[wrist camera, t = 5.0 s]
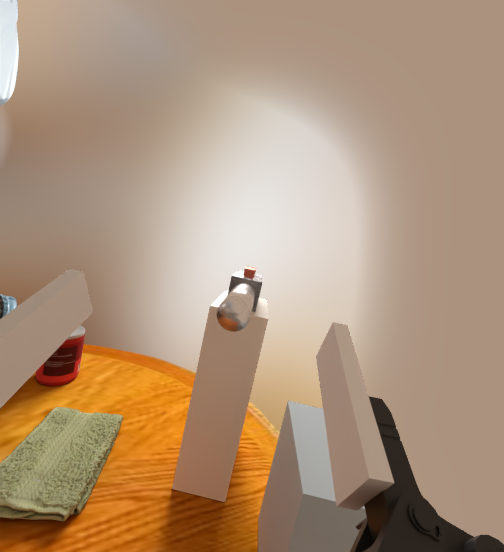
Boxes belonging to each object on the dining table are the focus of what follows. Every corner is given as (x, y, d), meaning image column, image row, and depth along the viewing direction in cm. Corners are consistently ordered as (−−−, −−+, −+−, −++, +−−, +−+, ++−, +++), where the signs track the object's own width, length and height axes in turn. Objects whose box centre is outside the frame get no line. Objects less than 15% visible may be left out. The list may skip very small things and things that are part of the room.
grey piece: (206, 331, 24) (218, 274, 23) (233, 293, 46) (240, 264, 45) (251, 342, 24) (264, 285, 23) (257, 299, 46) (264, 269, 45)
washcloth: (-54, 527, 28) (-51, 501, 27) (52, 417, 45) (54, 400, 45) (74, 532, 30) (78, 508, 29) (128, 425, 47) (130, 409, 47)
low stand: (255, 671, 22) (303, 493, 21) (258, 517, 35) (287, 400, 34) (343, 694, 22) (399, 517, 20) (314, 531, 35) (346, 414, 33)
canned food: (62, 364, 60) (68, 320, 59) (86, 375, 58) (94, 330, 57) (25, 377, 53) (31, 328, 52) (51, 391, 51) (59, 340, 50)
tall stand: (172, 488, 37) (210, 305, 34) (197, 423, 51) (225, 290, 48) (225, 502, 36) (268, 318, 34) (235, 433, 50) (266, 299, 48)
